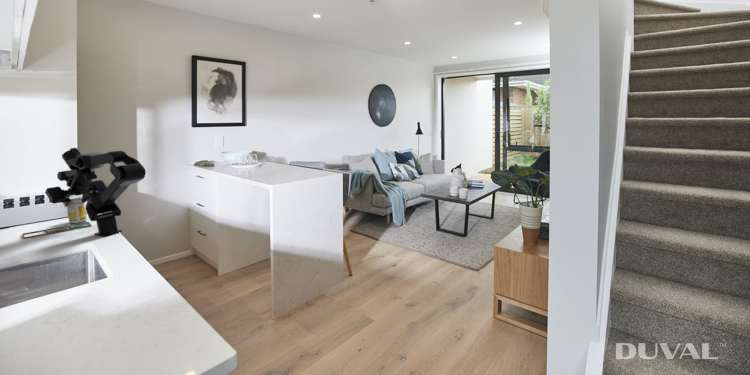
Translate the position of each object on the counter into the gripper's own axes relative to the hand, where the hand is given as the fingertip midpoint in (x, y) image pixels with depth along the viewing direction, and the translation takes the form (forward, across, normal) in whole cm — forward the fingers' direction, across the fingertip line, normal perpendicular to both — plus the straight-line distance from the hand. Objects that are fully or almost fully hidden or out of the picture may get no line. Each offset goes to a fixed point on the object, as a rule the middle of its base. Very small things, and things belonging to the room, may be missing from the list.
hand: (73, 204), depth 146 cm
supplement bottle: (+4, 0, +6) cm, 7 cm away
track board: (+7, +6, +6) cm, 11 cm away
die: (+12, -3, +1) cm, 12 cm away
